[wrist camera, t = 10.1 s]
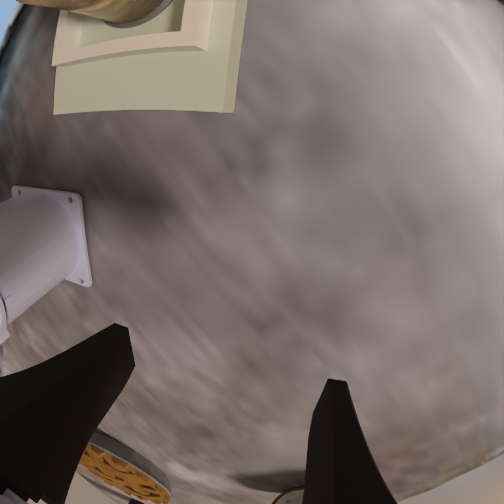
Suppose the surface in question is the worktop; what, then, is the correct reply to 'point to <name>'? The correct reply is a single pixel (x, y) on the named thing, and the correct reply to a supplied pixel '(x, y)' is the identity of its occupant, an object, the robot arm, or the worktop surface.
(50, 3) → the spout can
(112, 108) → the cream peg hole base
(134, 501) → the travel mug
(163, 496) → the pie
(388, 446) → the worktop surface
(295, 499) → the tin
